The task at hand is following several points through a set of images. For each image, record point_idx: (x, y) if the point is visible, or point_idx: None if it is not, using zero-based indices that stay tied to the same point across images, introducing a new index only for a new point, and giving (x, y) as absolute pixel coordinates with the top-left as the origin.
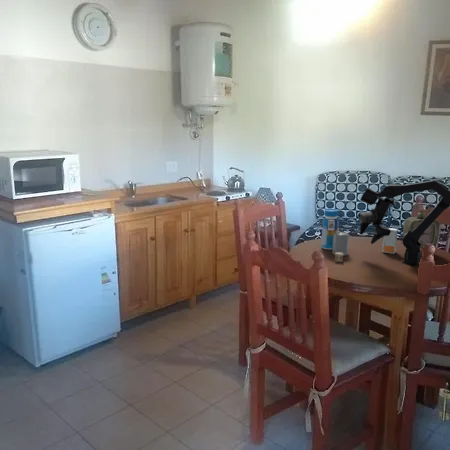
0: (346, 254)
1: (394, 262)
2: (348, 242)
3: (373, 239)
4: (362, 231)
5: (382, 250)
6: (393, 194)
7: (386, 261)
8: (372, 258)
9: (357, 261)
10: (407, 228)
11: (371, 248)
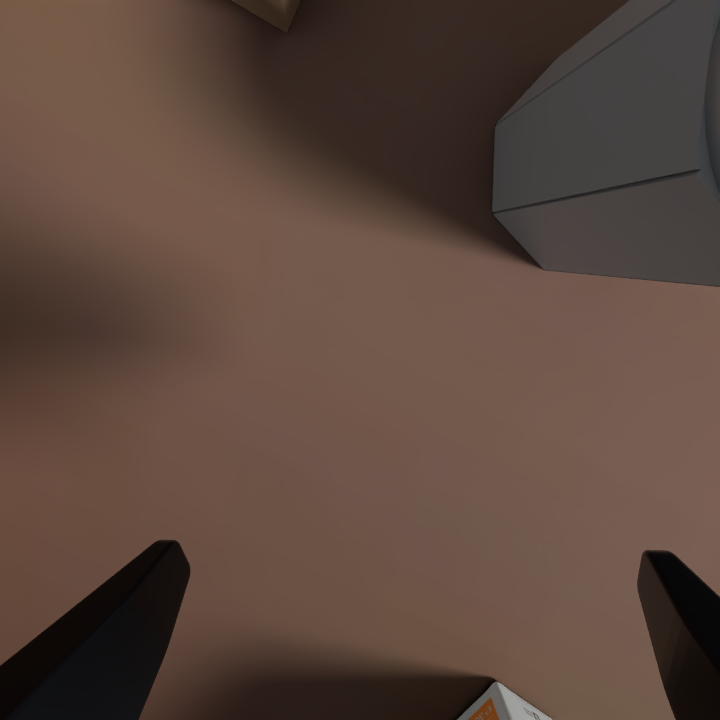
0: (499, 215)
1: None
2: (643, 265)
3: (31, 643)
4: (679, 669)
5: (500, 699)
6: None
7: None
8: (294, 475)
9: (193, 222)
10: None
11: None
